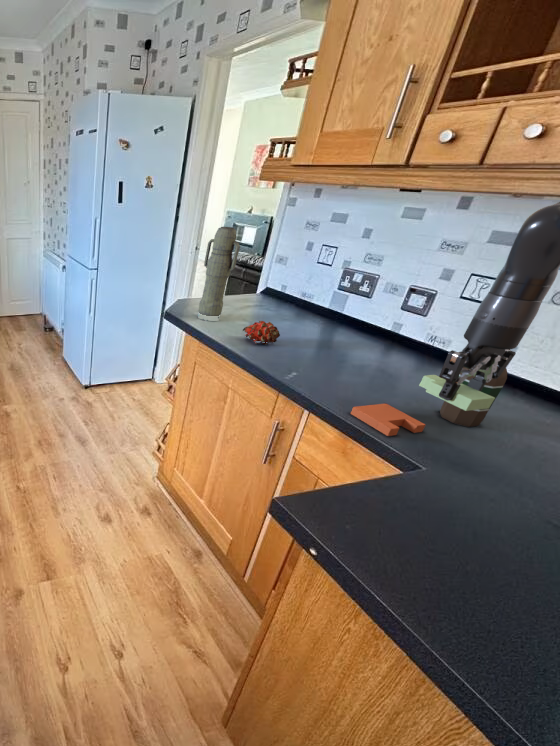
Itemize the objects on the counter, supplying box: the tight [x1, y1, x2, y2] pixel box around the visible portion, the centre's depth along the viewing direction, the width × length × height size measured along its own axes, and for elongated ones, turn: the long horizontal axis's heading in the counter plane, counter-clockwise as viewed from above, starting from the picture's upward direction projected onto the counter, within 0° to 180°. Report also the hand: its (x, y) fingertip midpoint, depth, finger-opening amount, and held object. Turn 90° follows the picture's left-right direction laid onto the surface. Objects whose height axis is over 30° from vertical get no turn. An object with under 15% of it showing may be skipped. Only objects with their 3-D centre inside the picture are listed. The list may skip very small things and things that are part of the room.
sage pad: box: [418, 374, 496, 411], centre depth 86 cm, size 6×11×2 cm, turn 12°
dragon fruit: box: [242, 320, 281, 345], centre depth 144 cm, size 8×8×12 cm
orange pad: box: [350, 403, 426, 437], centre depth 99 cm, size 10×10×2 cm
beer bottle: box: [439, 349, 511, 428], centre depth 96 cm, size 8×8×24 cm
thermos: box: [197, 226, 241, 322], centre depth 161 cm, size 9×12×35 cm
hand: (457, 397), depth 85 cm, fingers closed on sage pad, 6 cm apart
